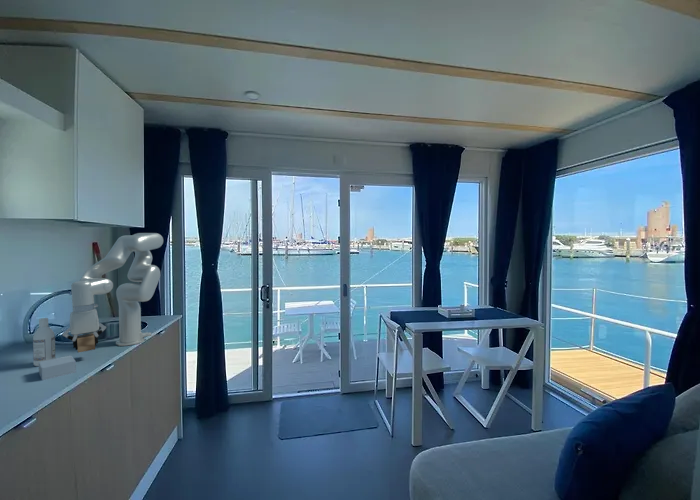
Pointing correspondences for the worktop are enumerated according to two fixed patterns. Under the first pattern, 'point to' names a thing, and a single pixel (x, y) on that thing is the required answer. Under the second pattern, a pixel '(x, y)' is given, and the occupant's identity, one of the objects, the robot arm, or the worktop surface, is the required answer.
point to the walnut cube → (85, 342)
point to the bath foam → (43, 343)
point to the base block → (57, 367)
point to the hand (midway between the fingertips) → (86, 346)
